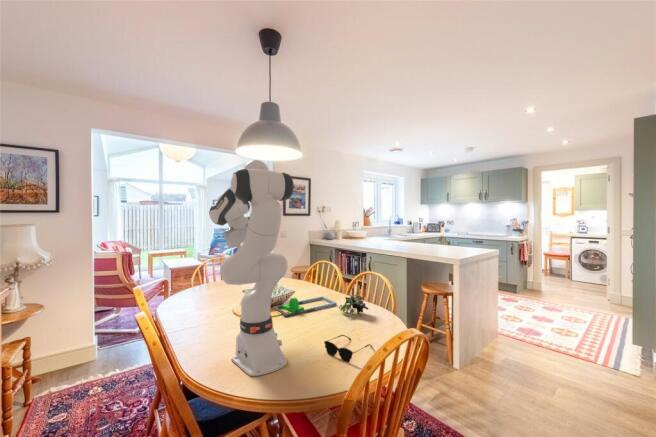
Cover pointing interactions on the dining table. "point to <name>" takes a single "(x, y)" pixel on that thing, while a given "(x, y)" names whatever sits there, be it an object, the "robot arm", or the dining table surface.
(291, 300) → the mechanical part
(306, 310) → the seat frame
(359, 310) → the green leafy plant
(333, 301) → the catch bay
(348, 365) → the dining table surface
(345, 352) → the sunglasses
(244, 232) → the robot arm
